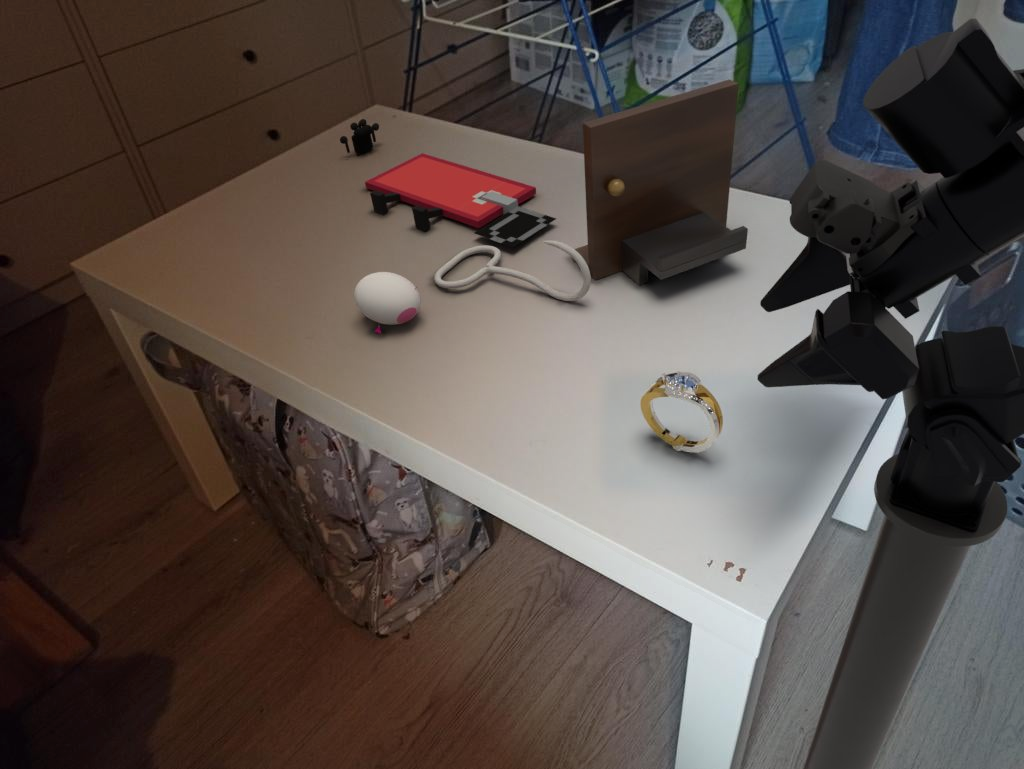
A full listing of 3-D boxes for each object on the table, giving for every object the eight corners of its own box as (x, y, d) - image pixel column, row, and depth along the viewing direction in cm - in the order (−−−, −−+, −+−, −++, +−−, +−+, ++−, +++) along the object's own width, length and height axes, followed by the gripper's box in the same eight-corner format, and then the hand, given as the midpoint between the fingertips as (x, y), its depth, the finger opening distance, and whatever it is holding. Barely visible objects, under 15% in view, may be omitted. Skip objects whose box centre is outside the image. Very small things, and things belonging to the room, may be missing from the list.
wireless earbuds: (380, 143, 126) (373, 112, 122) (389, 147, 124) (382, 116, 121) (343, 158, 123) (335, 127, 119) (351, 163, 121) (343, 131, 118)
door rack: (768, 262, 89) (789, 105, 78) (632, 313, 85) (632, 155, 73) (698, 214, 99) (706, 68, 87) (571, 258, 94) (563, 110, 83)
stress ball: (432, 340, 90) (444, 282, 89) (394, 342, 83) (406, 279, 82) (378, 324, 93) (389, 268, 92) (336, 324, 86) (347, 263, 85)
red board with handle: (502, 260, 95) (580, 210, 103) (500, 240, 93) (579, 190, 101) (346, 201, 112) (423, 162, 120) (342, 182, 110) (420, 144, 118)
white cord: (573, 327, 83) (430, 303, 94) (616, 282, 88) (476, 264, 100) (560, 266, 79) (412, 248, 90) (606, 222, 84) (461, 211, 96)
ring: (634, 441, 70) (635, 372, 65) (654, 421, 72) (656, 352, 67) (704, 475, 66) (711, 405, 61) (724, 453, 68) (731, 382, 63)
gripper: (872, 73, 54) (699, 211, 64) (900, 205, 41) (676, 354, 51) (967, 181, 58) (788, 298, 67) (1023, 337, 44) (789, 453, 54)
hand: (762, 342), depth 60 cm, fingers open, 9 cm apart
